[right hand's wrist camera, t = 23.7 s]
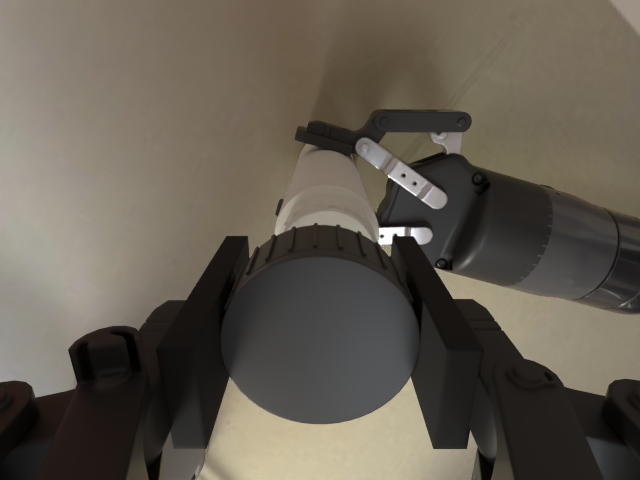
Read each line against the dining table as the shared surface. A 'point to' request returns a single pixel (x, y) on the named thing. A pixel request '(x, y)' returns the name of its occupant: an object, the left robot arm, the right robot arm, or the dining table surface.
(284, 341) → the lid
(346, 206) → the bottle
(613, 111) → the dining table surface
